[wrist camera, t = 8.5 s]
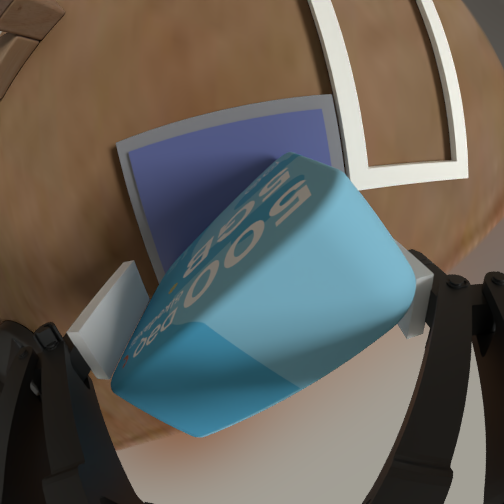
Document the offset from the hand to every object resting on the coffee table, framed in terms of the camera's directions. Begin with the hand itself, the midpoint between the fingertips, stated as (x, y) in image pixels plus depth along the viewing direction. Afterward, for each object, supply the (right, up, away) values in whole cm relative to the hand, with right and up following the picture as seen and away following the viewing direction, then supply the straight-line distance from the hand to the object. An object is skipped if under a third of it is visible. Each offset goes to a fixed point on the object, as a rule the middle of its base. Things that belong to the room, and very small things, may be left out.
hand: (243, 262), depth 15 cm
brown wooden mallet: (-21, +20, -2) cm, 29 cm away
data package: (0, +2, +4) cm, 5 cm away
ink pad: (0, +2, +5) cm, 6 cm away
